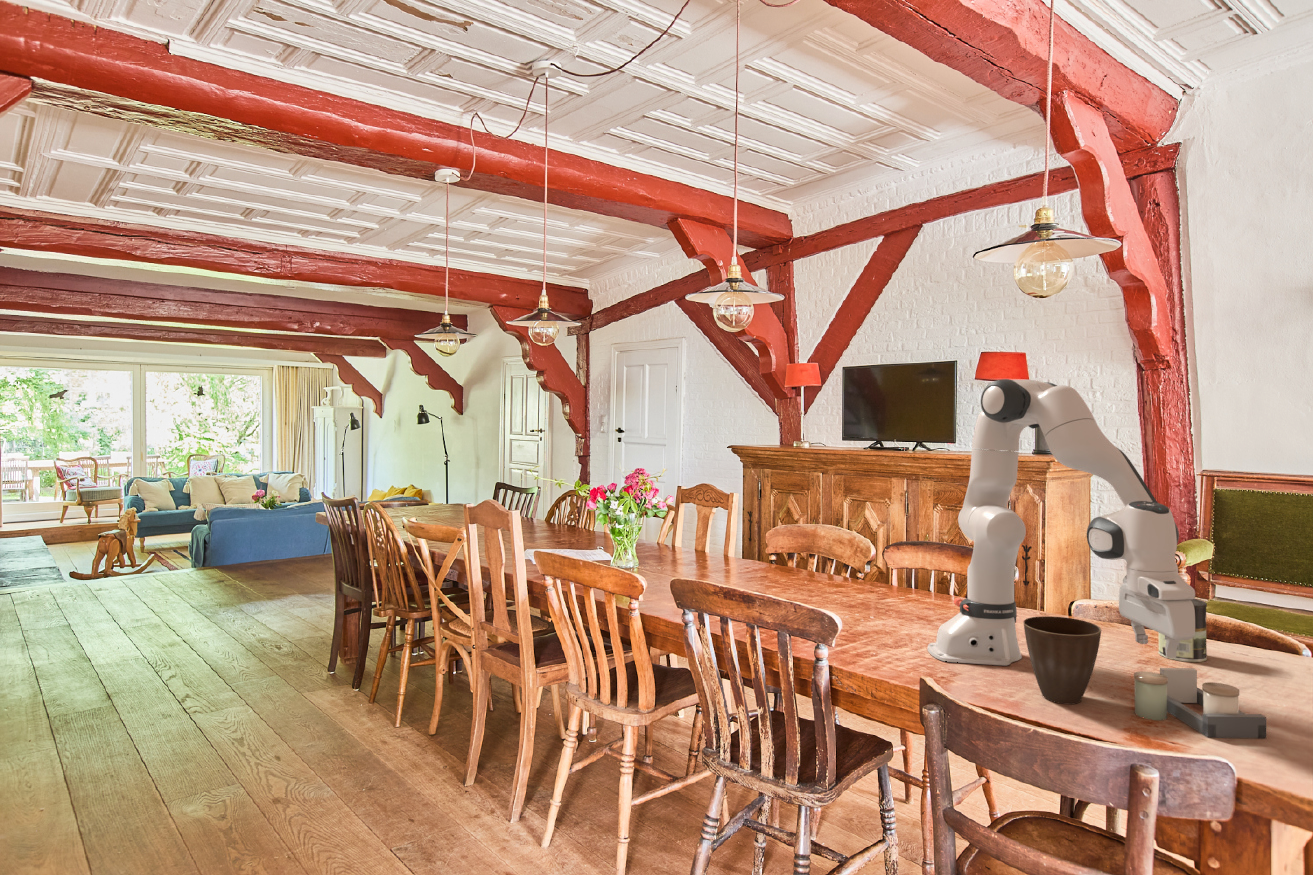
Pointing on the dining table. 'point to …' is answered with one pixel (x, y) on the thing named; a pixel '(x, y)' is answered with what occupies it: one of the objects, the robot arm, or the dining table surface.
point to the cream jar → (1220, 698)
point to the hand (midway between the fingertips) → (1155, 649)
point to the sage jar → (1151, 695)
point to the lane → (1219, 721)
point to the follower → (1181, 684)
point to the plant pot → (1062, 655)
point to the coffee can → (1197, 645)
